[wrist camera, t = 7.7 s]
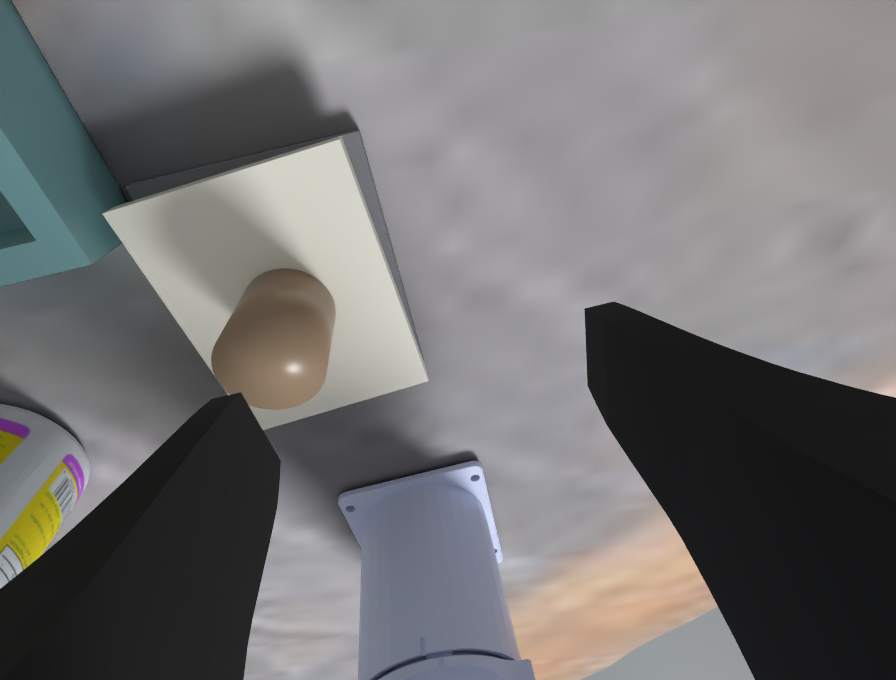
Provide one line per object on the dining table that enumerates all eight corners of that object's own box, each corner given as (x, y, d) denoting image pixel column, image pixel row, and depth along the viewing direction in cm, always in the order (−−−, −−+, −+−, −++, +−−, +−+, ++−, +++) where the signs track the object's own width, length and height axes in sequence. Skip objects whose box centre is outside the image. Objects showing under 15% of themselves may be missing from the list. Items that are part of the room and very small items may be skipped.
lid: (424, 357, 20) (438, 443, 16) (263, 405, 21) (231, 503, 16) (342, 131, 15) (329, 161, 11) (128, 198, 15) (25, 257, 11)
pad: (423, 359, 21) (424, 366, 21) (255, 400, 21) (252, 408, 21) (358, 128, 16) (358, 131, 15) (132, 182, 16) (124, 186, 15)
